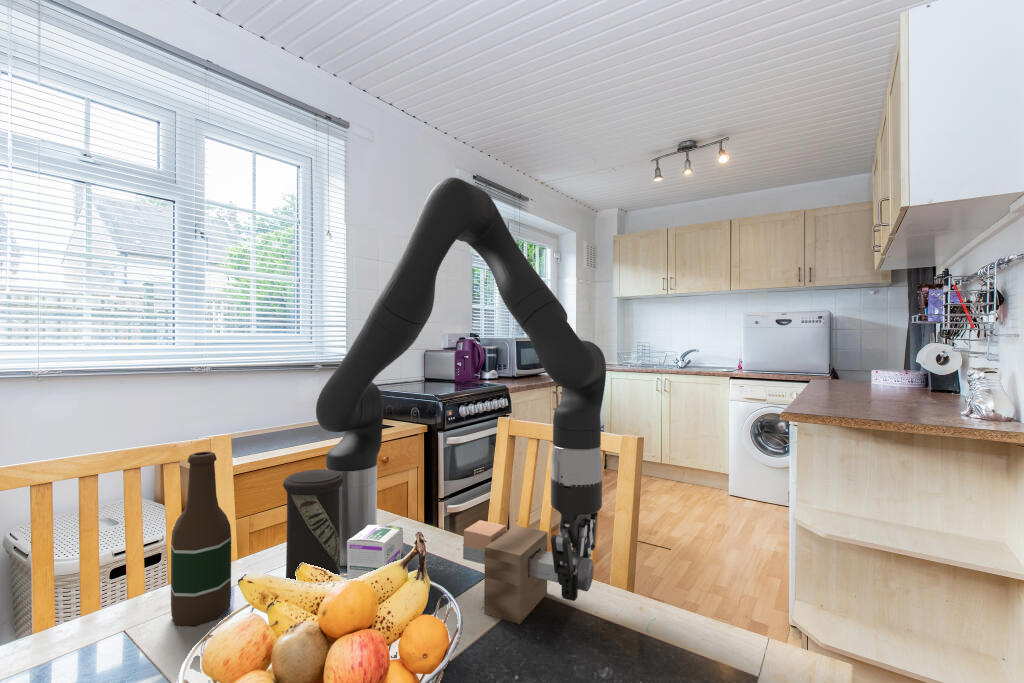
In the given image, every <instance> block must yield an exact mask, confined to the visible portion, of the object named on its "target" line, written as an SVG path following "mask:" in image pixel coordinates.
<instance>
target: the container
mask: <svg viewBox="0 0 1024 683" xmlns="http://www.w3.org/2000/svg"><path fill="white" fill-rule="evenodd" d="M342 483H343V476H342V475H341V474H340V473H339V472H337V471H335V470H329V469H326V468H321V469H320V468H319V469H318V468H317V469H309V470H303V471H302V470H301V471H299V472H294V473H291V474H289V475H287V477H286V478H285V479H284V480H283V483H282V485H283V489H284V490H285V492H286V556H285V557H286V559H285V560H286V561H285V564H286V565H285V566H286V568H285V579H286V578H290V579H295V580H296V576H295V571H296V569H297V567H298V566H299V564H300V563H301V562H304V563H307V564H310V565H314V566H318V567H321V568H324V569H326V570H329V571H330V572H332V573H334V574H338V575H340V576H341V566H340V526H339V488H340V486H341V484H342Z"/></svg>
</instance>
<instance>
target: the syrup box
mask: <svg viewBox="0 0 1024 683" xmlns="http://www.w3.org/2000/svg"><path fill="white" fill-rule="evenodd" d="M402 558H403V559H404V529H403V527H401V526H395V525H390V524H389V525H387V524H377V525H367V526H366V528H365V529H363V530H362V531H360V532H359V533H357V534H356V535H355V536H353V537H352V538H350V539H349V540H348V541H347V566H346V567H347V568H346V569H347V580H349V579H354V578H358V577H359V576H361V575H363V574H366V573H368V572H371V571H373V570H376V569H378V568H380V567H382V566H385V565H387V564H389V563H391V562H394V561H397V560H399V559H402Z"/></svg>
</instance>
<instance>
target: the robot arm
mask: <svg viewBox="0 0 1024 683" xmlns="http://www.w3.org/2000/svg"><path fill="white" fill-rule="evenodd" d="M456 241H459V242H465V243H467V244H468V245H469V246H470V247H471V248H472V249H473V251H475V252H476V253H477V254H478V255H479V256H480V257H481V258H482V260H484V262H485V263H486V265H487V266H488V268H489V270H490V271H491V274H492V276H493V278H494V281H495V283H496V284H495V285H496V288H497V290H498V293H499V295H500V298H501V299H502V301H503V304H505V307H506V308H507V310H508V311H509V313H510V314H511V316H512V317H513V318H514V320H515V322H517V324H518V325H519V327H520V328H521V329H522V331H523V332H524V333H525V335H527V337H528V338H529V340H530V343H531V345H532V348H533V350H534V352H535V354H536V356H537V358H538V360H539V362H540V364H541V366H542V367H543V370H544V371H545V373H546V374H547V376H549V378H550V379H551V380H552V381H553V382H554V383H555V384H556V385H558V386H560V387H561V396H560V401H559V404H558V406H557V407H555V410H554V412H553V419H552V450H551V459H550V505H551V507H552V508H553V509H554V510H555V511H557V512H559V514H560V515H561V516H560V521H559V523H558V535H557V534H552V535H551V537H550V545H551V552H552V555H553V563H554V571H555V573H558V574H562V585H561V597H562V599H565V600H568V601H573V602H575V601H576V600H577V598H578V596H579V591H578V574H577V573H578V565H579V559H580V558H581V557H584V558H589V559H592V551H594V550H595V549H596V537H597V529H598V528H597V526H598V515H599V511H600V510H601V509H602V507H603V457H602V448H601V442H602V440H601V439H602V436H601V435H602V434H601V433H602V426H601V425H602V424H601V413H602V412H601V410H602V406H603V401H604V396H605V395H604V394H605V386H606V378H607V364H606V363H607V362H606V358H605V354H604V353H603V350H602V349H601V348H600V347H599V346H598V345H596V344H595V343H593V342H591V341H589V340H581V338H580V337H579V336H578V335H577V334H576V332H575V330H574V328H572V326H571V325H570V323H569V322H568V313H567V310H566V309H565V308H564V306H563V305H562V303H561V302H560V300H559V299H558V298H557V297H556V295H555V294H554V293H553V291H551V289H550V288H549V286H548V285H547V284H546V282H545V281H544V280H543V279H542V277H541V276H540V275H539V273H538V272H537V271H536V270H535V268H534V267H533V266H532V265H531V263H530V261H529V260H528V259H527V257H526V256H525V254H524V252H523V251H522V250H521V248H520V246H519V245H518V244H517V242H516V240H515V238H514V237H513V236H512V234H511V232H510V229H509V228H508V226H507V225H506V222H505V221H504V218H503V216H502V214H501V213H500V211H499V209H498V207H497V205H496V204H495V202H494V200H493V198H492V197H491V196H490V194H488V192H486V191H484V190H483V189H482V188H480V187H478V186H476V185H474V184H471V183H470V182H468V181H466V180H464V179H461V178H458V177H451V176H450V177H447V178H444V179H441V181H439V182H438V183H436V185H435V186H434V187H433V188H432V189H431V191H430V192H429V194H428V196H427V198H426V199H425V201H424V204H423V206H422V208H421V211H420V213H419V215H418V217H417V220H416V222H415V224H414V228H413V230H412V232H411V234H410V237H409V239H408V241H407V243H406V246H405V248H404V250H403V251H402V254H401V255H400V257H399V260H398V261H397V263H396V265H395V267H394V269H393V271H392V274H391V275H390V277H389V278H388V279H387V280H388V281H387V282H386V284H385V286H384V288H383V289H382V291H381V292H380V294H379V295H378V297H377V299H376V301H375V303H374V304H373V307H372V308H371V310H370V312H369V314H368V316H367V318H366V320H365V322H364V324H363V326H362V328H361V329H360V331H359V333H358V334H357V336H356V338H355V340H353V343H352V344H351V346H350V348H349V350H348V351H347V353H346V355H345V356H344V358H342V360H341V362H340V364H339V365H338V366H337V368H336V369H335V370H334V372H333V374H331V376H330V377H329V379H328V380H327V381H326V383H325V384H324V386H323V387H322V389H321V391H320V392H319V395H318V398H317V401H316V405H315V406H316V407H315V417H316V421H317V423H318V425H319V426H320V427H321V428H322V429H323V430H325V431H328V432H330V433H343V432H344V434H343V437H342V439H341V440H339V442H338V443H337V444H336V445H334V446H333V447H332V448H331V449H330V450H328V451H327V454H326V456H325V457H326V459H325V469H329V470H335V471H337V472H339V473H340V474H341V475H342V476H343V483H342V484H341V486H340V488H339V526H340V567H347V541H348V540H349V539H350V538H352V537H353V536H355V535H356V534H357V533H359V532H360V531H362V530H363V529H365V528H366V526H367V525H378V521H377V520H378V519H377V518H378V457H379V456H378V455H379V453H380V451H381V447H382V440H383V424H384V422H383V420H384V400H383V397H382V393H381V391H380V388H379V387H378V386H377V385H376V383H374V382H373V381H374V380H375V379H376V377H378V375H379V374H380V373H381V372H383V371H384V370H385V369H386V368H387V367H389V366H390V365H392V363H394V362H395V361H396V360H398V358H400V357H401V356H402V355H403V354H404V353H406V352H407V350H409V349H410V348H411V346H412V345H414V343H416V342H415V341H416V340H418V337H419V336H420V334H421V333H422V331H423V329H424V327H425V325H426V324H427V322H428V321H429V318H430V317H431V315H432V312H433V308H434V303H435V296H436V295H435V294H436V281H437V276H438V272H439V269H440V267H441V265H442V262H443V260H444V259H445V257H446V256H447V254H448V252H449V251H450V249H451V247H452V246H453V245H454V243H455V242H456ZM572 557H573V559H572Z"/></svg>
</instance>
